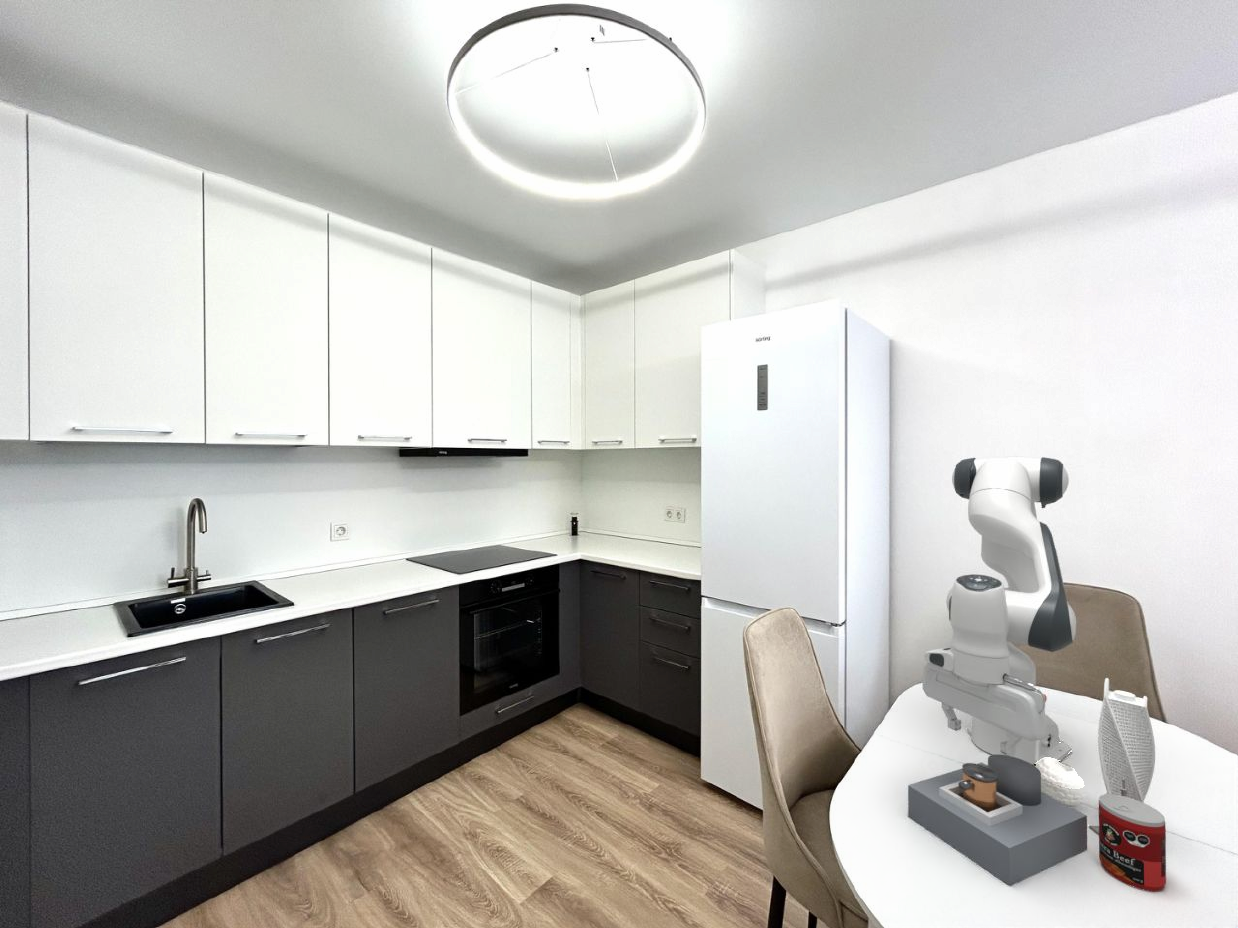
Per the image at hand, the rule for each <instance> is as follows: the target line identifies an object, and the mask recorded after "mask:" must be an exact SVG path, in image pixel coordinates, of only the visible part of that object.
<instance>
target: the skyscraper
mask: <svg viewBox="0 0 1238 928" xmlns="http://www.w3.org/2000/svg"><path fill="white" fill-rule="evenodd" d="M1152 726H1153V725H1152V722H1151V717H1150V714H1149V710H1148V697H1147V695H1144V696H1143V698H1142V697H1138V696H1136V695H1135V694H1134V693H1132V692H1130V691H1129V692H1128V691H1126V690H1125V691H1124V690H1118V689H1117V690H1113V691H1111V690H1110V678H1108V677H1106V678H1105V679H1104V685H1103V700H1102V705H1101V711H1100V715H1099V722H1098V730H1097V731H1098V733H1097V735H1098V736H1097V742H1098V743H1097V744H1098V745H1097V746H1098V748H1097V749H1098V756H1099V763H1100V769H1101V774H1102V777H1103V778H1102V779H1103V783H1104V786H1105V789H1106V793H1105V794H1115V795H1121V796H1125V797H1129V798H1132V799H1135V800H1138V801H1140V802H1143V803H1145V802H1144V801H1145V798H1146V796H1147V794H1148V792H1149V789H1150V786H1151V783H1152V780H1153V776H1154V771H1155V765H1156V764H1155V763H1156V742H1155V736H1154V731H1153V727H1152ZM1088 829H1090V830H1091V831H1092V832H1093V833H1095V834H1096V835H1097V836H1099V825H1088Z"/></svg>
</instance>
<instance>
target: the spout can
mask: <svg viewBox="0 0 1238 928" xmlns="http://www.w3.org/2000/svg"><path fill="white" fill-rule="evenodd" d="M961 769H962V770H963V781H962V782H959V787H960V789H961V790H963V799H965V800H967V801H969V802H970V803H972V804H974V805H975V806H977V807H979V808H981V809H982V810H984V811H986V812H987V813H988V812H991V811H993V810H996V809H997V807H996V781H997V774H996V773H995V772H994V771H993V770H991V769H989V768H987V767H985V766H982V765H979V764H978V763H972V762H966V763H963V764H962V767H961Z"/></svg>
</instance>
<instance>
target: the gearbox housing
mask: <svg viewBox="0 0 1238 928" xmlns="http://www.w3.org/2000/svg"><path fill="white" fill-rule="evenodd" d="M977 764H979V765H982V766H985V767H987V768H989V769H991V770H993V771H994V772H995V773H996V774H997V781H996V807H997V809H996V810H993V811H991V812H988V813H987V812H986V811H984V810H982V809H981V808H979V807H977V806H975V805H974V804H972V803H970V802H969V801H967V800H965V799H963V790H961V789H960V787H959V782H962V781H963V770H962V768H959V769H956V770H953V771H950V772H946V773H943V774H940V775H936V776H934V777H930V778H927V779H924V780H920V781H917V782H915V783H911V784H910V783H909V784H908V785H907V786H908V787H907V788H908V789H907V791H908V793H907V794H908V795H907V817H908V818H910V819H911V820H913V821H914V822H915V823H917V824H919V825H920V826H921V827H923V828H924V829H925V830H927V831H928V832H930V833H931V834H933V835H934V836H936V838H937V837H938V838H939V839H940V840H941V841H943V842H944V843H946V844H947V845H949V846H950V847H952V848H953V849H955V850H956V851H958V852H959V853H960V854H962V855H964V857H966V858H968V859H970V861H972V862H974V863H976V864H977V865H978V866H980V867H981V868H982V869H984V870H986V871H987V872H989V874H991V875H993V876H995V877H996V878H997V879H999V880H1000V881H1001V882H1003V883H1005V885H1008V886H1009V887H1011V886H1012V885H1015V884H1017V883H1019V882H1021V881H1024V880H1025V879H1028V878H1030V877H1032V876H1035V875H1036V874H1038V873H1040V872H1043V871H1045V870H1048V869H1049V868H1051V867H1053V866H1056V865H1058V864H1061V863H1062V862H1064V861H1066V860H1068V859H1070V858H1072V857H1075V856H1077V855H1079V854H1081V853H1084V852H1085V851H1088V815H1087V814H1085V813H1083V812H1081V811H1079V810H1077V809H1075V808H1073V807H1071V806H1069V805H1068V804H1065V803H1063V802H1061V801H1059V800H1057V799H1055V798H1053V797H1051V796H1049V795H1047V794H1046V793H1044V792H1042V772H1041V771H1040V769H1039V768H1038V767H1036V765H1033V764H1030V763H1028V762H1026V761H1024V760H1022V759H1019V758H1016V757H1012V756H1011V757H1010V756H1008V755H1000V754H995V755H992V754H990V755H989V756H988V757H987V764H986V763H985V762H979V763H977Z"/></svg>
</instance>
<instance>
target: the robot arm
mask: <svg viewBox="0 0 1238 928" xmlns="http://www.w3.org/2000/svg"><path fill="white" fill-rule="evenodd" d="M951 476H952V477H951V481H952V486H953V488H954V491H955V493H956V494H957V495H958V496H959V497H960V498H963V499H967V500H968V507H967V516H968V521H969V523H970V526H972V528H973V529H974V530H975V532H977V533H978V535H980V536H981V544H980V545H981V546H980V547H981V551H980V556H981V559H982V561H983V563H984V564H985V565H986V566H987V567H988V568H990V569H991V570H993V571H995V572H996V573H998V574H1000V575H1002V576H1003V577H1004V578H1005V581H1006V582H1007V586H1008V587H1005V586H1004V584H1003V582H1002V581H1001V580H999V579H998V578H995V577H992V576H989V575H984V574H977V573H976V574H965V575H960V576H958V577H956V578H955V580H954V582H953V586H952V587H951V588H950V590H949V591H948V593H947V595H946V600H945V601H946V607H947V610H948V620H949V622H950V624H951V625H950V626H951V629H952V638H951V641H950V647H949V646H947V647H942V648H941V647H940V648H935V649H930V650H928V651H926V652H925V653H924V659H925V662H926V663H925V664H924V666H923V670H922V683H921V685H922V691H923V692H924V694H925V695H926V697H929V698H930V699H933V700H935V701H937V702H939V703H941V709H942V711H943V713H944V715H945V717H946V719H947V727H948V728H949V729H951V730H954V731H956V732H958V731H961V730H962V720H961V719H960V718H958V717H957V715H956V712H955V709H956V710H957V711H958V710H959V711H960V712H962V713H965V714H967V715H969V716H971V723H970V724H971V725H969V726H966V731H967V734H969V735H970V737H971V742H972V743H973V744H974V745H975V746H976V747H978V748H979V749H980V750H982V751H984V752H986V753H988V754H989V755H995V754H1000V755H1008V756H1010V757H1011V756H1012V757H1016V758H1019V759H1022V760H1024V761H1026V762H1028V763H1030V764H1032V765H1034V764H1035V763H1036V762H1037V761H1039V760H1040V759H1042V758H1044V757H1051V758H1055V759H1057V760H1062V761H1063V760H1064V759H1065V758H1066V757H1067V756H1068V753H1069V752H1070V751H1071V750H1072V751H1073V748H1072V746H1070V744H1068V743H1066V742H1065V741H1063V740H1061V739H1060V731H1059V725H1058V724H1057V723H1056V722H1055V721H1054V720H1053V719H1052V718H1051V717H1049V716H1048V715H1047V714H1046V702H1047V699H1048V697H1047V695H1046V694H1044V693H1043V692H1042V691H1041V690H1040V688H1038V687H1036V684H1037V678H1036V677H1037V676H1036V675H1037V672H1036V671H1037V669H1036V665H1035V663H1034V661H1033V659H1031V657H1030V656H1029V655H1028V654H1027V653H1026V652H1024V651H1022V650H1021V649H1020V648H1018V647H1016V646H1015V645H1014V644H1013V643H1015V644H1021V645H1024V646H1025V645H1026V646H1029V647H1031V648H1035V649H1038V650H1043V651H1045V652H1046V651H1047V652H1050V653H1054V652H1057V651H1060V650H1063V649H1064V648H1065V649H1066V648H1068V647H1069V646H1071V645H1072V644H1073V643H1074V639H1075V637H1076V633H1077V618H1076V614H1075V611H1074V609H1073V608H1072V607H1071V605H1070V604H1069V602H1068V600H1067V596H1066V591H1065V584H1064V579H1063V576H1062V575H1063V574H1062V570H1061V567H1060V561H1059V556H1058V552H1057V548H1056V547H1055V546H1056V545H1055V541H1054V536H1053V535H1052V532H1051V529H1050V528H1049V526H1048V525H1047V524H1046V523H1044V522H1042V521H1039V520H1038V517H1037V511H1036V510H1037V509H1036V505H1035V503H1040V504H1041V509H1045V508H1046V506H1047V505H1051V504H1054V503H1057V501H1059V500H1060V499H1062V498H1063V497H1064V494H1065V493H1066V492H1067V489H1068V487H1069V481H1070V480H1069V474H1068V472H1067V470H1066V468H1065V466H1064V464H1063V462H1061V460H1060V459H1056V458H1051V457H1041V458H1040V457H1031V456H1030V457H1028V456H1009V455H1008V456H996V457H982V458H976V457H969V458H966V459H965V458H964V459H961V460H960V461H959V462H957V464H956V465H955V468H954V470H953V472H952V475H951ZM1059 742H1061V743H1059ZM1066 755H1067V756H1066ZM1065 756H1066V757H1065ZM1064 757H1065V758H1064ZM1063 758H1064V759H1063ZM1034 766H1035V765H1034Z"/></svg>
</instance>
